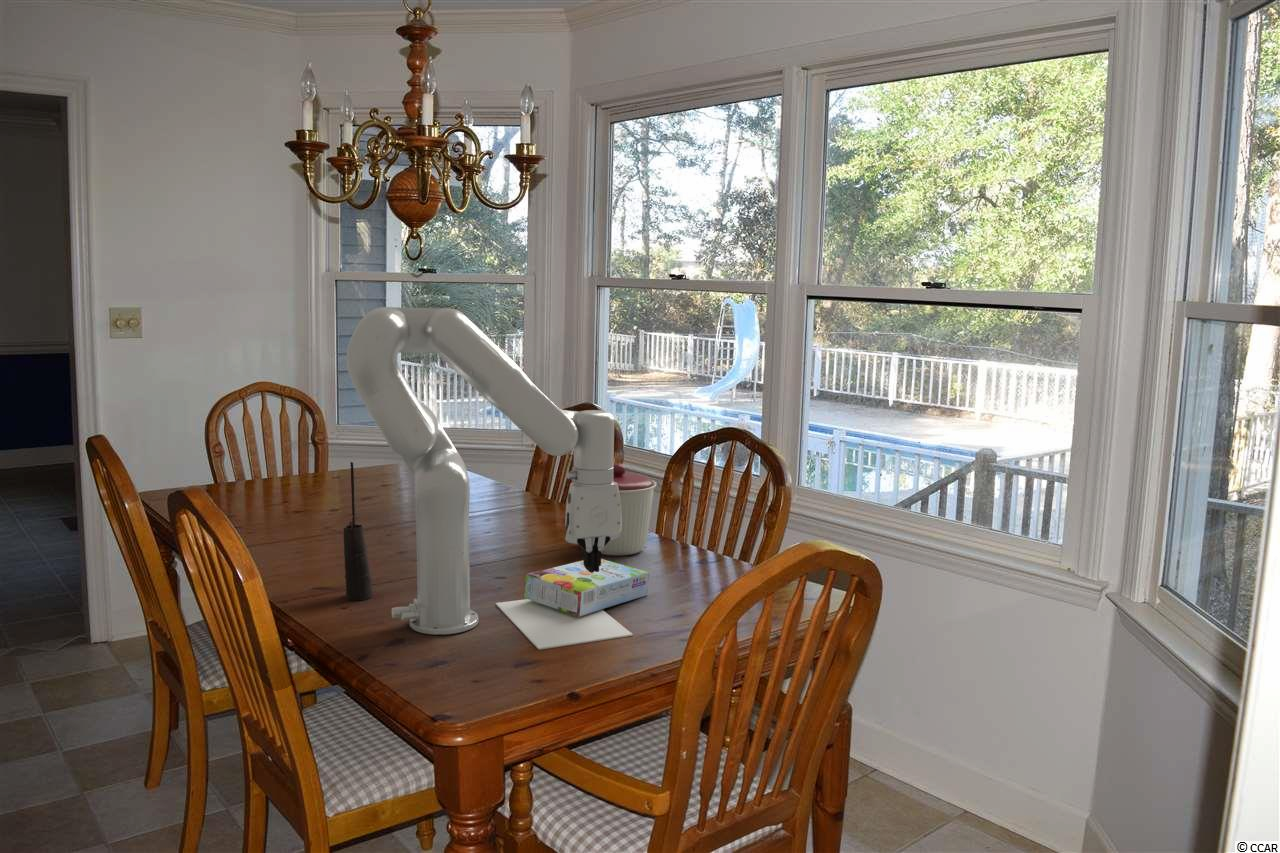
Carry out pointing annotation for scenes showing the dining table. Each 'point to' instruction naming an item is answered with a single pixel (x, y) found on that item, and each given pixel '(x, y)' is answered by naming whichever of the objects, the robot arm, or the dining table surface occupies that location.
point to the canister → (631, 512)
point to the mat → (560, 624)
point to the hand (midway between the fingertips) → (592, 570)
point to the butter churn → (356, 558)
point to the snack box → (586, 586)
